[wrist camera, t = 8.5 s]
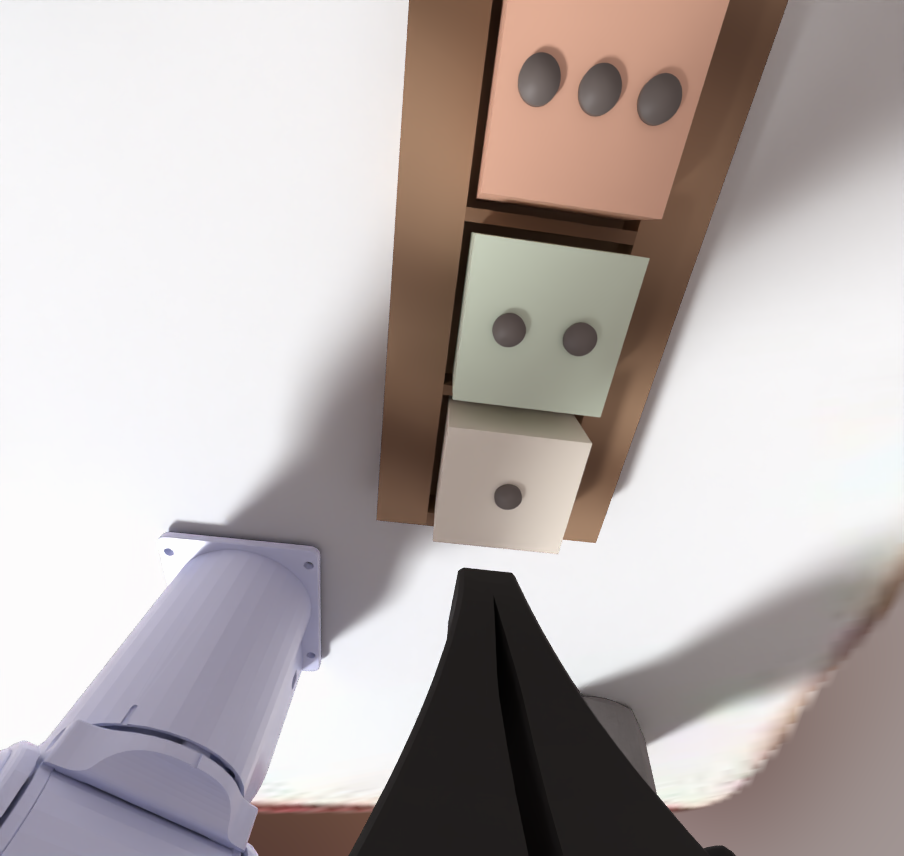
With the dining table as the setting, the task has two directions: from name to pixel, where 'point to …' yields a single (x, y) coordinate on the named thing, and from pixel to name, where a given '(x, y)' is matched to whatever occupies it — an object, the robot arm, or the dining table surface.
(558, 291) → the pale green knobbed block
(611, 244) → the board
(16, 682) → the dining table surface
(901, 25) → the dining table surface
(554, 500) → the beige block
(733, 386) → the dining table surface
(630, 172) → the peach block
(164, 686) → the robot arm
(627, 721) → the coffeepot
